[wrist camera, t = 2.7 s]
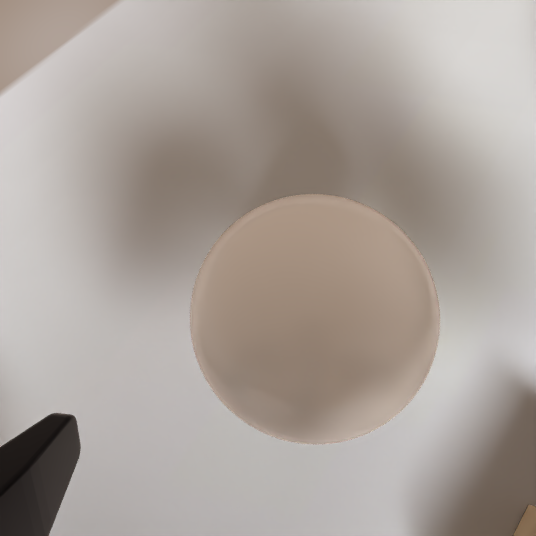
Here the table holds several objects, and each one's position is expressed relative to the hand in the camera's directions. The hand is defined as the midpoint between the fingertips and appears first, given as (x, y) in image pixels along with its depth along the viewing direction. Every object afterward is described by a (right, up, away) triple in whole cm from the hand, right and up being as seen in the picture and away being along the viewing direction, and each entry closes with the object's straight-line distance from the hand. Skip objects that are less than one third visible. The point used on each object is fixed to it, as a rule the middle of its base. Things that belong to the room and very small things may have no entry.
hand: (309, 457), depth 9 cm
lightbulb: (+1, 0, +11) cm, 11 cm away
